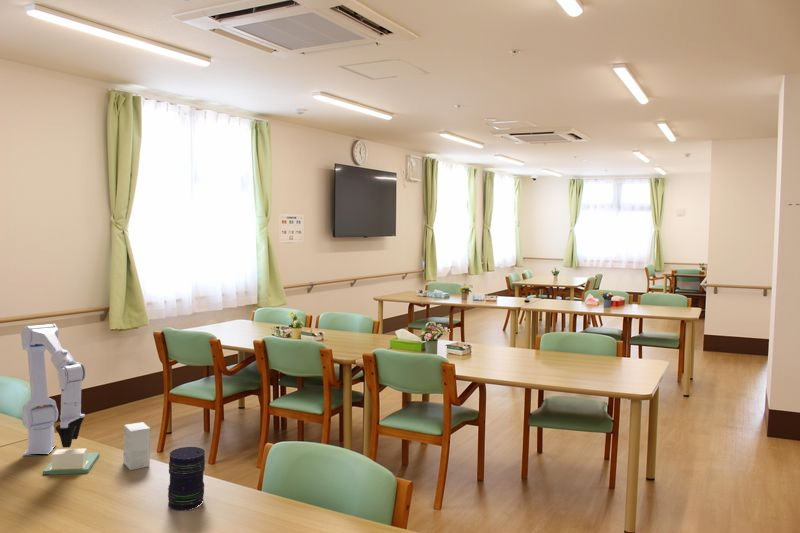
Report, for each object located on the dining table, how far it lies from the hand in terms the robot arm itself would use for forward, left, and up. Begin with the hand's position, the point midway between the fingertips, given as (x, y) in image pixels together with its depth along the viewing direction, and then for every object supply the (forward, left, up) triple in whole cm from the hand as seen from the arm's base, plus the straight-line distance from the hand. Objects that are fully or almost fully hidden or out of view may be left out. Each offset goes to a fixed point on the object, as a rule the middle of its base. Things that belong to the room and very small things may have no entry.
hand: (70, 443), depth 197 cm
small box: (-1, +20, -9) cm, 22 cm away
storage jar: (+31, +39, -9) cm, 50 cm away
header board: (-3, 0, -8) cm, 9 cm away
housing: (0, 0, -7) cm, 7 cm away
